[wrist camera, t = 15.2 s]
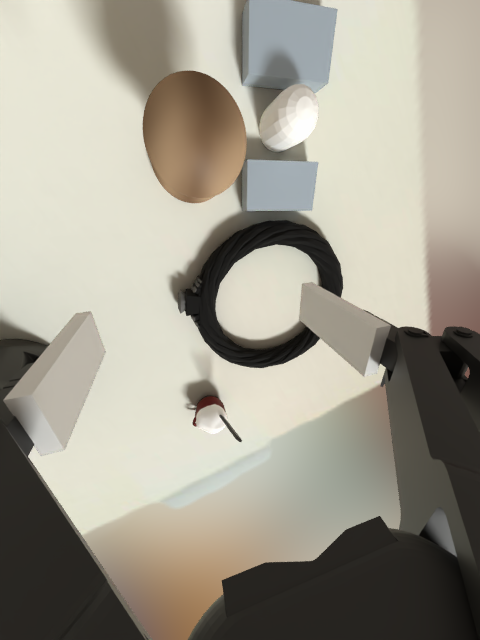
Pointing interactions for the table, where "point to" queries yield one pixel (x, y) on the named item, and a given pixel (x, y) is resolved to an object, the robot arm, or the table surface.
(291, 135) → the capsule
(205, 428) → the cocoa
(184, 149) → the knob
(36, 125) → the table surface
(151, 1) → the table surface
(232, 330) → the table surface
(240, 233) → the cable lock
